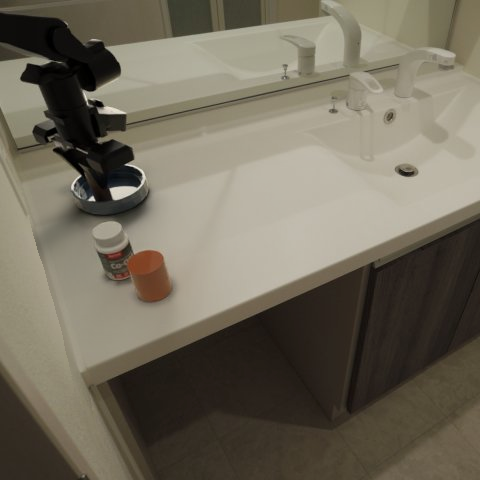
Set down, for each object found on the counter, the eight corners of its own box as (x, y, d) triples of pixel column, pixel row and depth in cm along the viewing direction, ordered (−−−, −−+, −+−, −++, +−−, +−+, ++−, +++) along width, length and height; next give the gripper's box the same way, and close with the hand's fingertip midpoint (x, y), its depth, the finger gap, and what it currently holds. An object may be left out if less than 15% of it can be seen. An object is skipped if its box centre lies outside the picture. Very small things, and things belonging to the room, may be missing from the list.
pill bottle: (118, 285, 64) (101, 245, 58) (100, 271, 66) (82, 231, 60) (144, 268, 67) (130, 228, 61) (127, 255, 69) (112, 215, 63)
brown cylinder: (92, 203, 77) (79, 171, 73) (101, 194, 80) (89, 162, 75) (107, 206, 77) (95, 173, 72) (116, 196, 79) (105, 165, 75)
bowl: (61, 210, 76) (54, 196, 74) (102, 172, 86) (97, 159, 84) (126, 222, 75) (121, 208, 73) (161, 182, 85) (157, 168, 82)
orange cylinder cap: (131, 298, 62) (119, 271, 58) (147, 274, 66) (138, 247, 62) (162, 304, 61) (153, 277, 57) (177, 280, 65) (169, 252, 61)
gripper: (149, 100, 67) (168, 181, 78) (75, 73, 74) (102, 151, 85) (88, 126, 60) (118, 211, 71) (13, 94, 67) (50, 176, 77)
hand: (98, 184), depth 76 cm, fingers closed on brown cylinder, 3 cm apart
